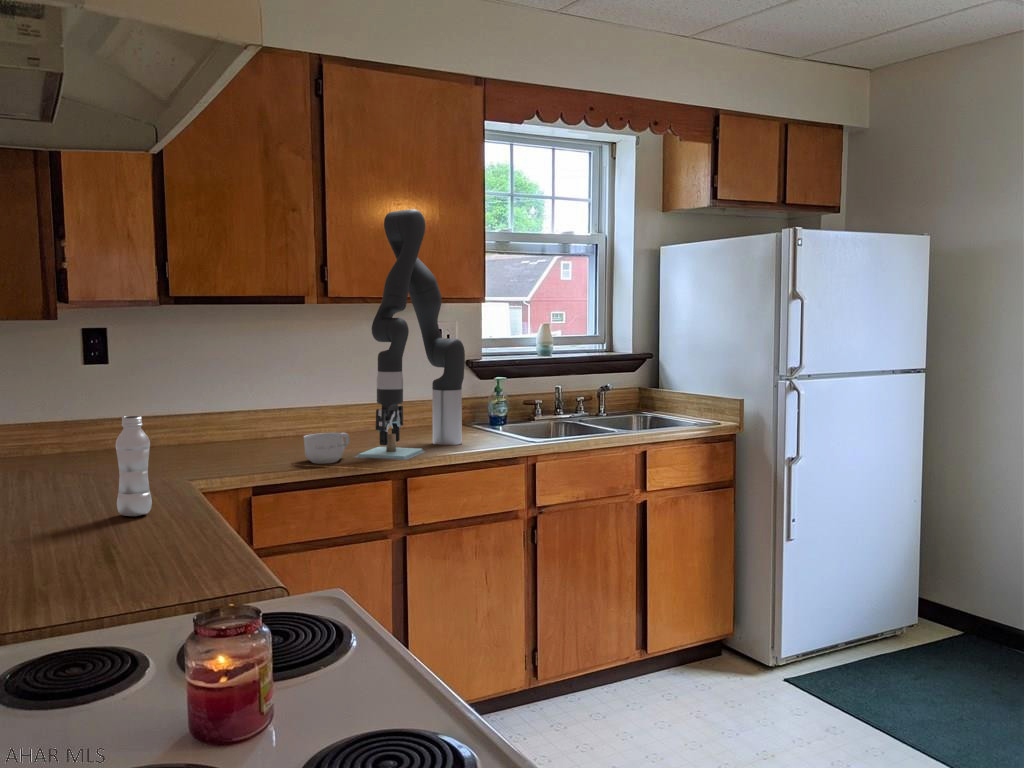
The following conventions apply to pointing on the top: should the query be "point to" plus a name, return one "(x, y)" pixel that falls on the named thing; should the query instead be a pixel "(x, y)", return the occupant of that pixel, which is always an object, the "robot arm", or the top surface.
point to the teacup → (325, 447)
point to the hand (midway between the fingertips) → (389, 443)
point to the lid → (390, 450)
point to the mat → (392, 458)
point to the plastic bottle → (133, 468)
